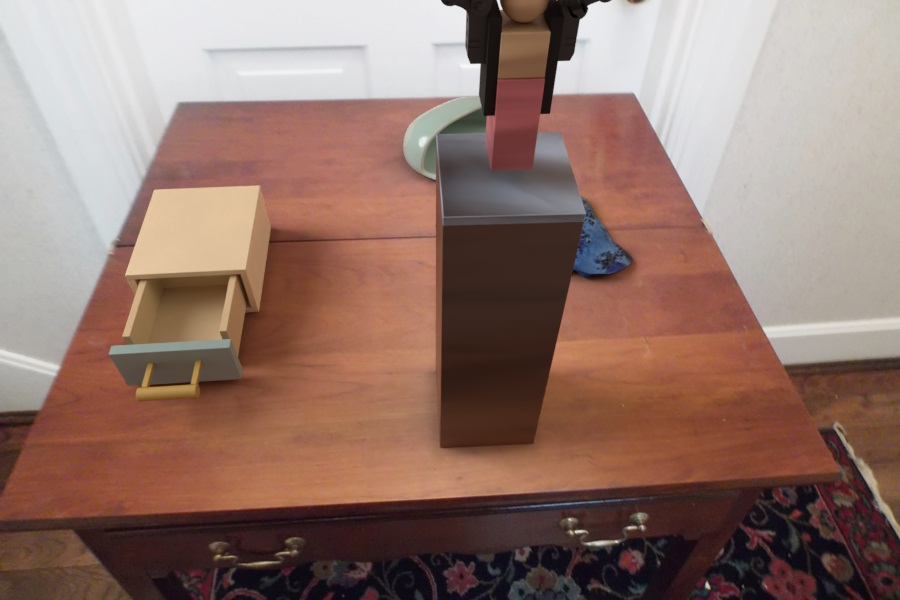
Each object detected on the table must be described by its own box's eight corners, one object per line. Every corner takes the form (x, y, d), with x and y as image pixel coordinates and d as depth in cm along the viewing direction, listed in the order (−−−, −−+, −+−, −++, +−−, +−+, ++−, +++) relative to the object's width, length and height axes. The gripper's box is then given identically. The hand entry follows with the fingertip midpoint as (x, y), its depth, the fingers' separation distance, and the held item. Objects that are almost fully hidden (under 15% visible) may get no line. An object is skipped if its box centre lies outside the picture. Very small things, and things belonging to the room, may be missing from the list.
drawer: (236, 413, 70) (223, 382, 65) (117, 421, 69) (96, 390, 64) (256, 285, 82) (246, 252, 78) (155, 290, 81) (140, 257, 77)
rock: (575, 192, 97) (577, 181, 95) (644, 266, 87) (648, 256, 85) (489, 220, 93) (490, 210, 91) (551, 302, 83) (553, 292, 81)
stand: (533, 443, 69) (586, 213, 45) (440, 448, 68) (442, 217, 44) (521, 367, 75) (560, 131, 52) (435, 370, 75) (435, 134, 51)
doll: (532, 169, 46) (558, -19, 36) (491, 171, 46) (506, -18, 36) (524, 141, 48) (547, -44, 39) (484, 142, 48) (497, -43, 38)
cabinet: (259, 312, 80) (245, 269, 75) (146, 318, 79) (124, 275, 74) (271, 228, 91) (260, 185, 85) (171, 232, 90) (154, 189, 84)
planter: (465, 68, 107) (540, 108, 99) (464, 108, 112) (535, 148, 104) (377, 111, 98) (452, 158, 90) (380, 151, 103) (451, 199, 95)
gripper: (722, -407, 29) (615, 72, 47) (367, -416, 28) (393, 78, 46) (795, -404, 24) (645, 131, 42) (368, -414, 23) (397, 140, 41)
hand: (513, 103), depth 44 cm, fingers closed on doll, 3 cm apart
